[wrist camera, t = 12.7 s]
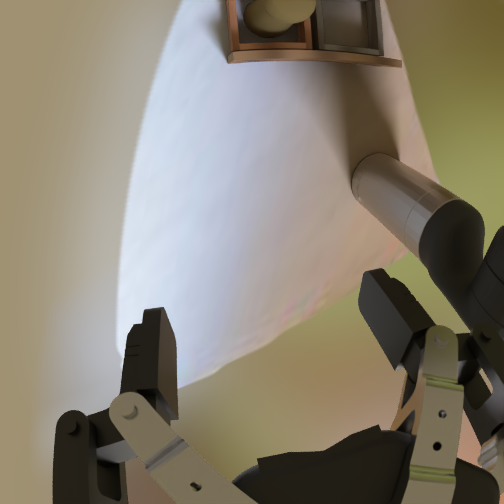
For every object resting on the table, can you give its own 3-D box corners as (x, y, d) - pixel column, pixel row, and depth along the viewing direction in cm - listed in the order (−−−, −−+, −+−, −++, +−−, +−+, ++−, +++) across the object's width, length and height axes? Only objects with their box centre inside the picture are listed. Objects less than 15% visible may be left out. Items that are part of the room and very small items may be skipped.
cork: (299, 27, 29) (336, 12, 20) (259, 45, 30) (283, 33, 21) (275, -9, 26) (304, -36, 17) (234, 9, 27) (249, -16, 18)
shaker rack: (372, -2, 27) (396, -8, 22) (377, 66, 33) (401, 67, 28) (221, -13, 25) (225, -28, 20) (228, 63, 31) (233, 60, 26)
